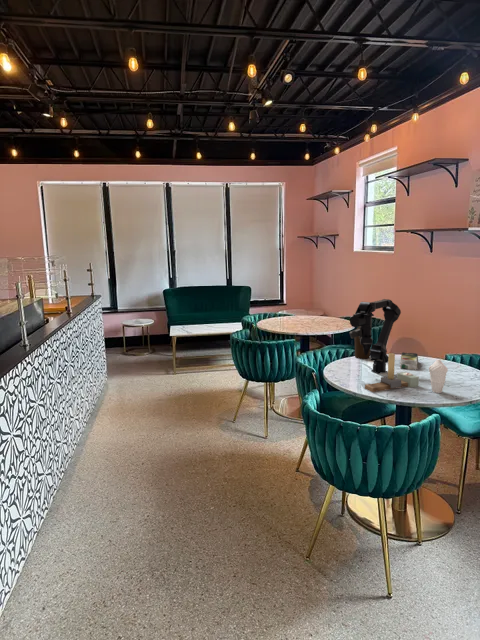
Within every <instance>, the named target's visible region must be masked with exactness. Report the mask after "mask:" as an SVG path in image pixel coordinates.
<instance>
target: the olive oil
mask: <svg viewBox="0 0 480 640" xmlns="http://www.w3.org/2000/svg"><path fill="white" fill-rule="evenodd" d="M358 329H360V326H359V327H356V329H355V330H358ZM360 338H361V337H360ZM353 339H354V358H356V359H359V360H361V359H362V360H368V359H371V357H370V350H371V348H370V349H369V352H368V354H367V355H365V354H364V349H363V345H361V344H360V339H359V336H358V337H355V338H353Z"/></svg>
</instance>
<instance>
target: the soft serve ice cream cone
mask: <svg viewBox="0 0 480 640" xmlns="http://www.w3.org/2000/svg"><path fill="white" fill-rule="evenodd" d="M428 371H429V375H430V377H429V378H430V379H429V380H430V385H431V391H432V392H433V393H436V394H440V393H443V390H444V386H445V383H446V376H447V373H448V371H449V369H448V367H447V366H446V365H445V363H443V362H442V360H441V359H439V358H438V359H436V360H435V361H434V362H433V363H432V364H431V365H429V367H428Z"/></svg>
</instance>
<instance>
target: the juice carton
mask: <svg viewBox="0 0 480 640" xmlns="http://www.w3.org/2000/svg"><path fill="white" fill-rule="evenodd" d="M418 355H419V354H418V353H416V352H404V351H403V352H401V356H400V362H399V364H400V365H399V369H407V370H414V369H415V371H417V370H418V368H419V356H418ZM416 369H417V370H416Z"/></svg>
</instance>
